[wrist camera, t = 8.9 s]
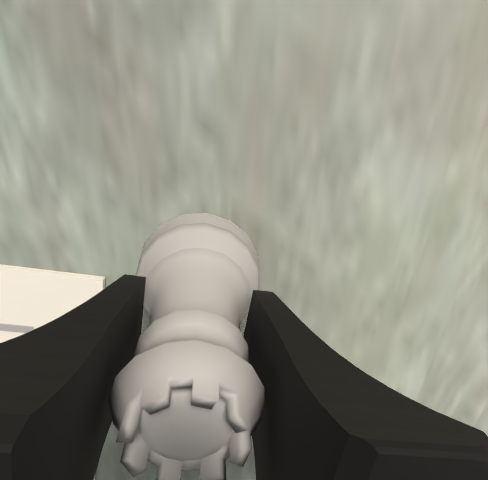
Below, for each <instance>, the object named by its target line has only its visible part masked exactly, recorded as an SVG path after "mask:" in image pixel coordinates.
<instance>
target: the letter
mask: <svg viewBox="0 0 488 480" xmlns="http://www.w3.org/2000/svg"><path fill="white" fill-rule="evenodd" d="M103 289H105V277H103V276H94V275H86V274H77V273H69V272H60V271H52V270H43V269H35V268H26V267H18V266H9V265H1V264H0V343H2V342H5V341H7V340H10V339H13V338H15V337H18V336H20V335H23V334H25V333H28V332H30V331H32V330H34V329H36V328H38V327H41V326H43V325H45V324H47V323H49V322H51V321H53V320H55V319H57V318H59V317H60V316H62V315H64V314H66V313H67V312H69V311H71V310H72V309H74V308H76V307H77V306H79V305H81V304H82V303H84V302H86V301H87V300H89V299H90V298H92V297H93V296H95V295H96V294H98V293H99V292H101V291H102V290H103ZM94 480H95V476H94Z"/></svg>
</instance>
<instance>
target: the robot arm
mask: <svg viewBox="0 0 488 480" xmlns="http://www.w3.org/2000/svg"><path fill="white" fill-rule="evenodd" d="M145 284H146V277H142V276H133V275H123V276H122V277H120V278H119V279H118V280H116V281H115V282H113V283H112V284H110V285H109V286H108V287H106V288H105V289H103V290H102V291H101V292H99V293H98V294H96V295H95V296H93V297H92V298H90V299H89V300H87V301H86V302H84V303H82V304H81V305H79V306H77V307H76V308H74V309H72V310H71V311H69V312H67V313H66V314H64V315H62V316H60V317H59V318H57V319H55V320H53V321H51V322H49V323H47V324H45V325H43V326H41V327H38V328H36V329H34V330H32V331H30V332H28V333H25V334H23V335H20V336H18V337H15V338H13V339H10V340H7V341H5V342H2V343H0V480H94V476H95V473H96V469H97V465H98V462H99V458H100V454H101V451H102V448H103V445H104V442H105V439H106V436H107V433H108V430H109V428H110V425H111V423H112V420H113V419H112V415H111V410H110V406H109V401H108V400H109V397H110V393H111V390H112V387H113V384H114V380H115V377H116V376H117V375H118V374H119V372H120V371H121V370H122V369H123V368H124V367H125V366H126V365H127V364H128V363H129V362H130V361H131V360H132V359H133V358H134V353H135V350H136V347H137V343H138V340H139V337H140V335H141V327H142V316H143V305H144V295H145ZM244 339H245V341H246V343H247V345H248V360H249V364H251V365H252V367H253V368H254V370H255V372H256V374H257V375H258V377H259V379H260V381H261V382H262V384H263V386H264V398H265V411H264V413H263V415H262V417H261V419H260V421H259V423H258V425H257V427H256V430H255V432H254V433H253V434H252V439H253V446H254V455H255V467H256V480H488V437H487V435H486V434H485V433H484V432H483V431H481V430H478V429H476V428H474V427H471V426H469V425H466V424H464V423H462V422H459V421H457V420H455V419H452V418H450V417H448V416H445V415H443V414H441V413H438V412H436V411H434V410H432V409H430V408H428V407H426V406H424V405H422V404H420V403H418V402H416V401H414V400H412V399H410V398H408V397H406V396H404V395H402V394H400V393H398V392H396V391H395V390H393V389H391V388H389V387H388V386H386V385H384V384H383V383H381V382H379V381H378V380H376V379H374V378H373V377H371V376H369V375H368V374H366V373H365V372H363V371H362V370H360V369H359V368H357V367H356V366H354V365H353V364H352V363H350V362H349V361H348V360H346V359H345V358H343V357H342V356H341V355H339V354H338V353H337V352H335V351H334V350H333V349H332V348H330V347H329V346H328V345H327V344H326V343H325V342H323V341H322V340H321V339H320V338H319V337H318V336H317V335H315V334H314V333H313V332H312V331H311V330H310V329H309V328H308V327H307V326H306V325H305V324H304V323H303V322H302V321H301V320H300V319H299V318H298V317H297V316H296V315H295V314H294V313H293V312H292V311H291V310H290V309H289V308H288V307H287V306H286V305H285V304H284V303H283V302H282V301H281V300H280V299H279V298H278V297H277V296H276V295H275V294H274V293H273V292H268V291H259V290H253V293H252V297H251V302H250V307H249V312H248V317H247V322H246V327H245V332H244Z"/></svg>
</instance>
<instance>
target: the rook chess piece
mask: <svg viewBox="0 0 488 480" xmlns="http://www.w3.org/2000/svg"><path fill="white" fill-rule="evenodd" d="M136 276H142V277H146V284H145V295H144V305H143V306H144V307H145V309H146V311H147V312H148V314H149V315H150V326H149V327H148V328H147V329H146V330H145V331H144V332H143V333H142V334H141V335H140V337H139V340H138V343H137V347H136V350H135V353H134V358H133V359H132V360H131V361H130V362H129V363H128V364H127V365H126V366H125V367H124V368H123V369H122V370H121V371H120V372H119V374H118V375H117V376H116V377H115V380H114V384H113V387H112V390H111V393H110V397H109V400H108V401H109V406H110V410H111V415H112V419H113V424H114V425H115V427H116V428H117V429H118V431H119V433H118V436H117V440H116V442H125V445H124V448H123V452H122V456H121V460H120V462H121V463H122V464H123V465H124V466H125V467H126V469H127V470H128V471H129V472H130V473H131V474H132V476H133V477H135V476H137V475H138V474H140V473H142V472H143V471H145V470H146V465H147V461H149V462H151V463H152V464H154V465H156V466H158V469H157V475H156V480H181V471H183V470H194V469H200V480H226V464H225V460H226V459H227V458H228V457H229V456H230V462H231V463H234V464H237V465H239V466H242V467H243V465H244V463H245V461H246V459H247V457H248V455H249V453H250V451H251V449H252V447H251V438H250V436H251V435H252V434H253V433H254V432H255V430H256V427H257V425H258V423H259V421H260V419H261V417H262V415H263V413H264V411H265V398H264V386H263V384H262V382H261V381H260V379H259V377H258V375H257V374H256V372H255V370H254V368H253V367H252V365H251V364H249V360H248V345H247V343H246V341H245V339H244V337H243V336H242V334H241V332H240V330H239V328H240V321H242V320H243V318H244V316H245V315H246V314H247V313H248V312H249V307H250V302H251V297H252V293H253V290H259V265H258V254H257V252H256V250H255V248H254V246H253V244H252V242H251V240H250V238H249V236H248V235H247V234H246V233H245V232H243V231H242V230H241V229H240V228H239V227H237V226H236V225H235V224H234V223H233V222H231V221H230V220H227V219H224V218H221V217H218V216H215V215H212V214H209V213H199V214H182V215H180V216H178V217H176V218H174V219H172V220H169V221H167V222H165V223H163V224H161V225H160V226H159V227H158V228H157V229H156V230H155V231H154V232H153V234H152V235H151V236H150V237H149V238H148V239H147V240H146V241H145V243H144V247H143V250H142V253H141V257H140V260H139V265H138V269H137V272H136Z"/></svg>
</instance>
